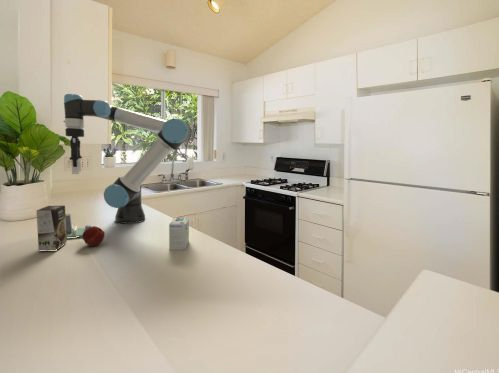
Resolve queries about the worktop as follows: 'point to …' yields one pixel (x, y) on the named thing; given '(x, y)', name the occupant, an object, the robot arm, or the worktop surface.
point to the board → (78, 231)
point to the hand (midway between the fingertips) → (76, 172)
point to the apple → (93, 236)
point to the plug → (68, 223)
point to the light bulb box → (178, 234)
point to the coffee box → (51, 227)
